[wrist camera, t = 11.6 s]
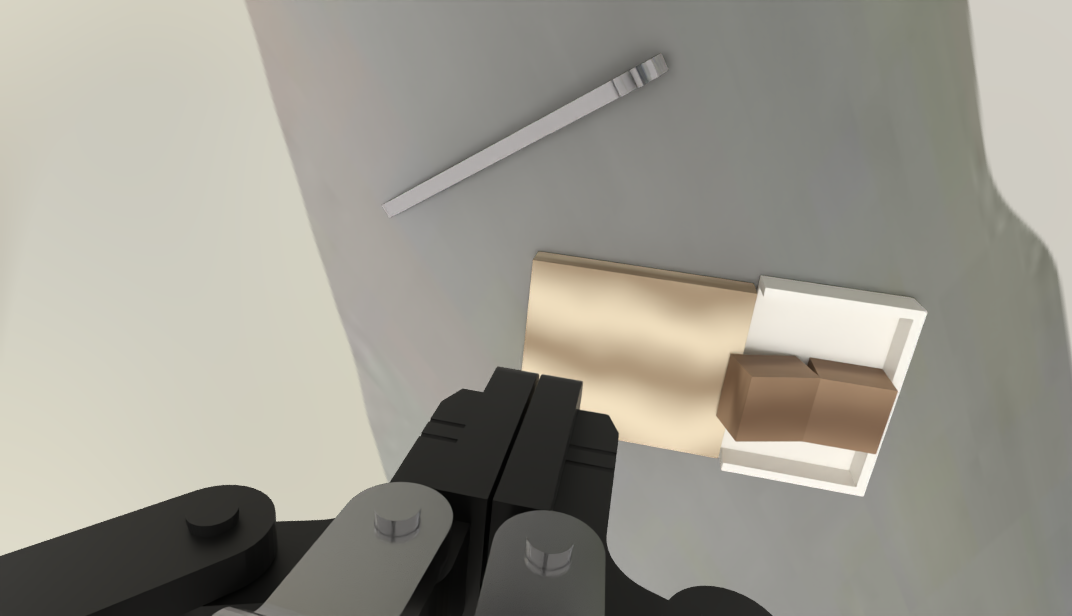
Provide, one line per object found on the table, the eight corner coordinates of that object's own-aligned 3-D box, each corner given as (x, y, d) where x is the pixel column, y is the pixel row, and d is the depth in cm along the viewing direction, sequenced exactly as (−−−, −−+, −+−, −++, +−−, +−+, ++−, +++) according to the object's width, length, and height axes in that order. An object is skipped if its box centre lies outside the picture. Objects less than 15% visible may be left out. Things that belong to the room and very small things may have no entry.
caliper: (660, 51, 39) (659, 51, 33) (668, 68, 39) (669, 72, 33) (383, 203, 45) (342, 225, 40) (392, 217, 46) (352, 241, 40)
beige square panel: (538, 251, 44) (533, 259, 42) (753, 283, 42) (757, 293, 41) (522, 407, 49) (516, 421, 47) (716, 442, 47) (718, 458, 45)
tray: (760, 275, 42) (765, 287, 40) (913, 297, 41) (927, 311, 39) (718, 450, 47) (721, 470, 45) (854, 475, 46) (863, 496, 44)
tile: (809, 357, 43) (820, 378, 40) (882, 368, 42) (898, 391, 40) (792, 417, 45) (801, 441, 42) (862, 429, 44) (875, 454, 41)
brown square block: (730, 354, 42) (752, 376, 39) (795, 355, 43) (820, 378, 40) (715, 415, 44) (735, 441, 41) (778, 416, 44) (802, 441, 42)
